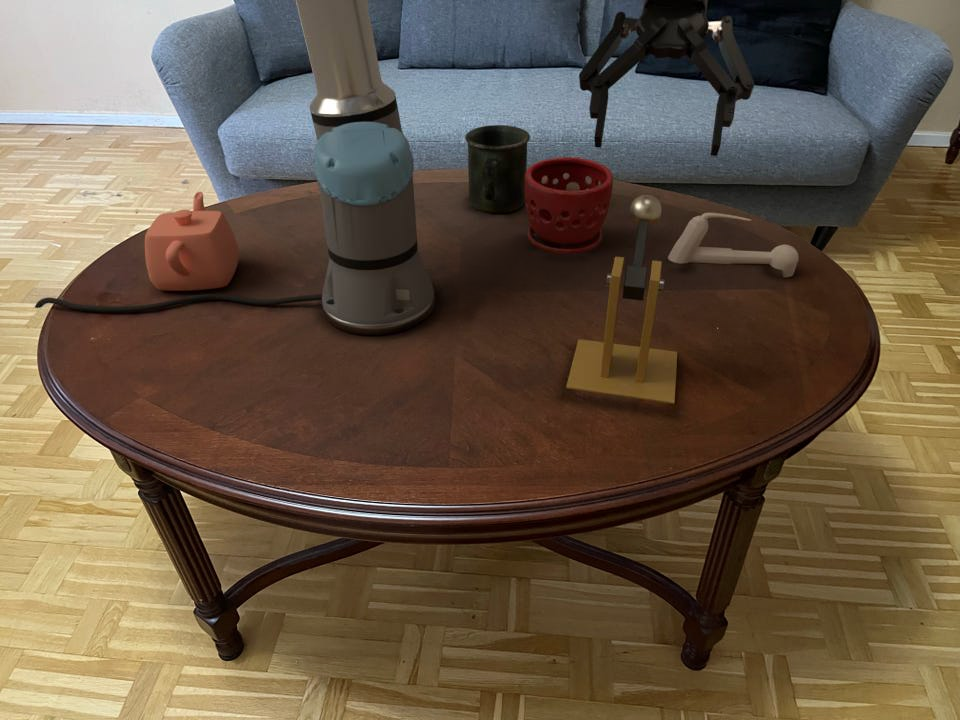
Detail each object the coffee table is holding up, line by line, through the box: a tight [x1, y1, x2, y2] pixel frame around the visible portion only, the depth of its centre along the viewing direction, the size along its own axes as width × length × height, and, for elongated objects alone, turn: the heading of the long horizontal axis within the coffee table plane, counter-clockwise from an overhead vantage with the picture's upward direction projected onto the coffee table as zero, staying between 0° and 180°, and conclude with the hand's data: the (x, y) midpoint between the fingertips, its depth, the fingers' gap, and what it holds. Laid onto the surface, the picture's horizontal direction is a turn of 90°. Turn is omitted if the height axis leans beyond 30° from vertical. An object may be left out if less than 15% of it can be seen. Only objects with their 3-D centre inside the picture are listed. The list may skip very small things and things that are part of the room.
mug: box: [464, 124, 531, 214], centre depth 122 cm, size 11×15×12 cm
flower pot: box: [524, 156, 614, 255], centre depth 109 cm, size 13×13×12 cm
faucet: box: [667, 212, 800, 278], centre depth 104 cm, size 4×18×10 cm, turn 82°
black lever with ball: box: [622, 194, 663, 302], centre depth 79 cm, size 13×4×4 cm, turn 166°
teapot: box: [144, 191, 240, 292], centre depth 103 cm, size 12×18×10 cm, turn 4°
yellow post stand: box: [565, 256, 678, 405], centre depth 80 cm, size 10×12×15 cm
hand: (655, 146), depth 84 cm, fingers open, 13 cm apart
